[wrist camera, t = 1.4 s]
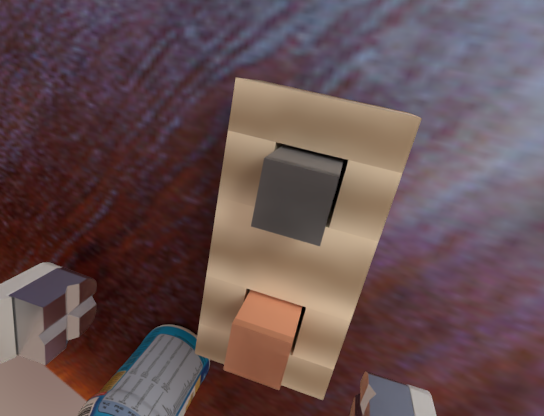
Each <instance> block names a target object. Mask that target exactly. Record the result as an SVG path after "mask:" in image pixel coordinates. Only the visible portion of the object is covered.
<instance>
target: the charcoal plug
mask: <svg viewBox="0 0 544 416" xmlns="http://www.w3.org/2000/svg"><path fill="white" fill-rule="evenodd" d="M343 160H344V159H341V158H337V157H333V156H329V155H325V154H321V153H317V152H313V151H308V150H304V149H300V148H296V147H292V146H288V145H282V146H281V147H279V148H278V149H276V150H275V151H273V152H272V153H271V154H269V155H268V156H266V157H265V158H264V161H263V166H262V171H261V177H260V182H259V187H258V192H257V197H256V202H255V208H254V213H253V218H252V223H251V227H255V228H258V229H261V230H265V231H268V232H272V233H275V234H279V235H282V236H286V237H289V238H293V239H296V240H299V241H303V242H306V243H310V244H313V245H317V246H320V245H321V241H322V237H323V234H324V230H325V227H326V223H327V220H328V216H329V213H330V209H331V206H332V202H333V198H334V195H335V191H336V188H337V184H338V181H339V177H340V173H341V169H342V165H343Z"/></svg>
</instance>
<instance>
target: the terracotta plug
mask: <svg viewBox="0 0 544 416" xmlns="http://www.w3.org/2000/svg"><path fill="white" fill-rule="evenodd" d="M301 310H302V306H300V305H297V304H294V303H291V302H288V301H285V300H282V299H278V298H275V297H272V296H269V295H266V294H263V293H260V292H257V291H253V290H250V292H249V294H248V295H247V297H246V299H245V301H244V303H243V305H242V306H241V308H240V310H239V312H238V314H237V315H236V317H235V319H234V321H233V323H232V327H231V332H230V337H229V342H228V347H227V353H226V358H225V363H224V368H223V370H225V371H228V372H230V373H233V374H236V375H239V376H241V377H244V378H247V379H250V380H252V381H255V382H258V383H261V384H263V385H266V386H269V387H272V388H274V389H277V390H280V386H281V383H282V379H283V376H284V372H285V369H286V365H287V362H288V358H289V355H290V351H291V347H292V344H293V340H294V336H295V333H296V329H297V325H298V321H299V318H300V314H301Z"/></svg>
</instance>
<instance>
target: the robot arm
mask: <svg viewBox="0 0 544 416" xmlns="http://www.w3.org/2000/svg"><path fill="white" fill-rule="evenodd" d="M96 291H97V289H96V281H95V280H94V279H93V278H91V277H88V276H86V275H83V274H80V273H77V272H75V271H72V270H69V269H67V268H64V267H60V266H57V265H55V264H52V263H49V262H46V263H40V264H39V265H37V266H35V267H33V268H31V269H29V270H27V271H25V272H23V273H21V274H19V275H17V276H15V277H13V278H11V279H9V280H7V281H6V282H4V283H2V284H0V364H1V363H3V362H6V361H8V360H10V359H13V358H15V357H16V356H17V355H18V356H20V357H23V358H26V359H29V360H32V361H35V362H37V363H40V364H43V365H47V364H48V363H49V362H50V361H51V360H52V359H54V358H55V357H56V356H57V355H58V354H60V353H61V352H62V351H63V350H64V349H65V348H66V347H67V342H68V340H70V339H73V338H77V337H79V336H81V335H82V334H83V333H84V332H85V331H86V330H87V329H88V328H89V326H90V324H91V323H92V321H93V320H94V317H95V313H96V303H95V301H94V299H93V298H92V295H93V294H94V293H95V292H96ZM349 416H436V412H435V408H434V404H433V400H432V396H431V394H430V393H429V391H426V390H423V389H420V388H417V387H414V386H411V385H408V384H407V385H406V384H403V383H400V382H397V381H394V380H391V379H388V378H385V377H382V376H379V375H376V374H373V373H370V372H367V371H366V372H365V373H364V375H363V377H362V380H361V382H360V394H358V395H356V396H355V398H354V401H353V403H352V406H351V411H350V415H349Z"/></svg>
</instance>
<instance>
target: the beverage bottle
mask: <svg viewBox="0 0 544 416" xmlns="http://www.w3.org/2000/svg"><path fill="white" fill-rule="evenodd" d="M196 341H197V335H196V334H194V333H193V332H192V331H190V330H188V329H186V328H184V327H182V326H178V325H172V324H167V325H161V326H158V327H156V328H155V329H153V330H152V331H151V332H150V333H149V334H148V335H147V336H146V337H145V339H144V340H143V342H142V343H141V344H140V346H139V347H138V348H137V349H136V351H135V352H134V353H133V354H132V355H131V356H130V357H129V359H128V360H127V361H126V362H125V363H124V364H123V365H122V367H121V368H120V369H119V370H118V371H117V372H116V373H115V375H114V376H113V377H112V378H111V379H110V380H109V381H108V382H107V384H106V385H105V386H104V387H103V388H102V389H101V390H100V391H99V393H97V394H95V395H94V396H92V397H91V398H90V399H89V400H88V401H87V402H86V403H85V405H84V406H83V407H82V408H81V410H80V411H79V413H78V415H77V416H184V414H185V412H186V410H187V408H188V406H189V405H190V403H191V401H192V399H193V397H194V395H195V393H196V392H197V390H198V388H199V386H200V384H201V383H202V382H203V380H204V378H205V377H206V375H207V373H208V371H209V367H210V359H208V358H205V357H202V356H200V355H197V354H195V348H196Z"/></svg>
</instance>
